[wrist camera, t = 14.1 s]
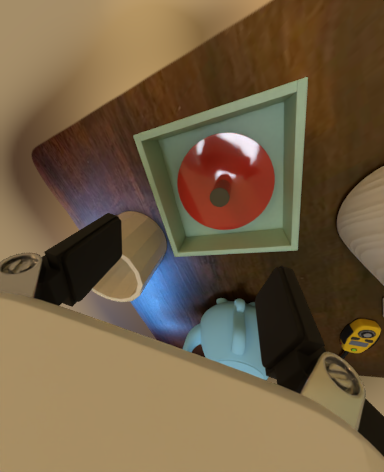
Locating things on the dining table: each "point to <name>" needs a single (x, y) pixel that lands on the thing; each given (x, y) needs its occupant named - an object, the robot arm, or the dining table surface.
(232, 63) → the dining table surface
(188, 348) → the teapot
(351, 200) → the vase
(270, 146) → the green square tray
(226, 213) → the lid
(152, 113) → the dining table surface
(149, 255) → the pot
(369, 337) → the remote control
